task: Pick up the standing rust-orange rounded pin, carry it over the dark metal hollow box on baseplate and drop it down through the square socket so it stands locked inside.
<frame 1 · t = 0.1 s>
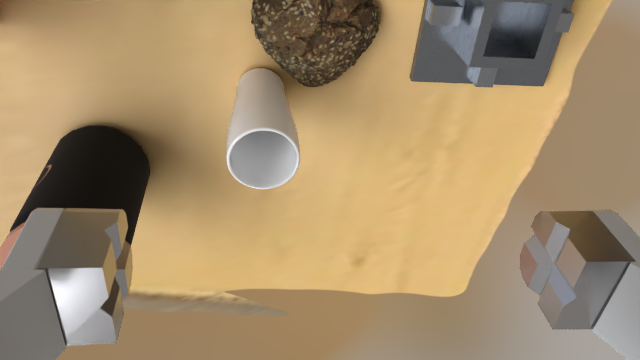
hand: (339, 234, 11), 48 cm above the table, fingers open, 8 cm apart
drinking glass: (260, 87, 61), on the table
coffee jar: (105, 159, 64), on the table
hollow box on baseplate: (494, 11, 58), on the table
bread roll: (318, 18, 57), on the table
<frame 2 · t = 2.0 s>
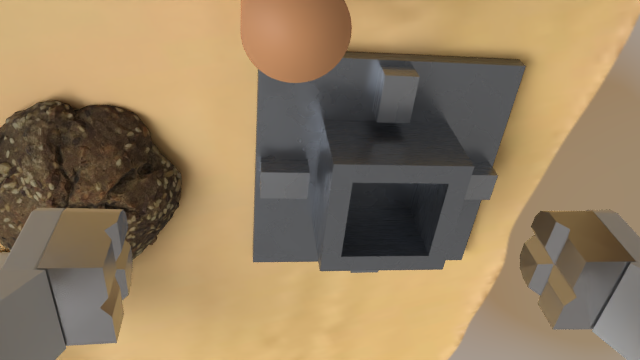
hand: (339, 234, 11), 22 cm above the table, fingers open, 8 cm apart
hollow box on baseplate: (373, 165, 37), on the table
bread roll: (84, 179, 35), on the table
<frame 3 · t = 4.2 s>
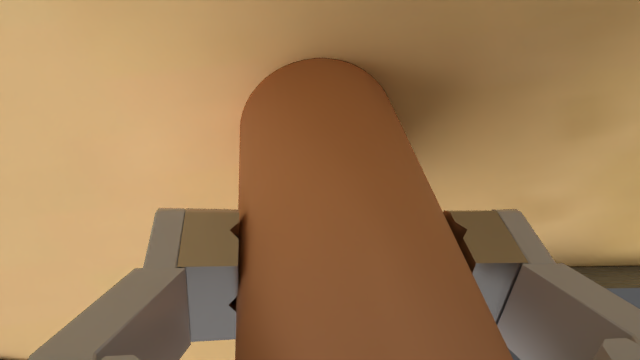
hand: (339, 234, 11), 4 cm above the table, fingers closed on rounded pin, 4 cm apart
rounded pin: (317, 131, 14), on the table, touching gripper
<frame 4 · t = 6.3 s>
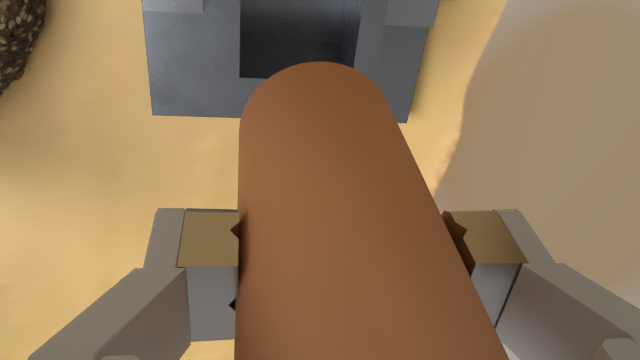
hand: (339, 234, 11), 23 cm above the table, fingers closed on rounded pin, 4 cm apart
rounded pin: (316, 133, 14), point 18 cm above the table, touching gripper
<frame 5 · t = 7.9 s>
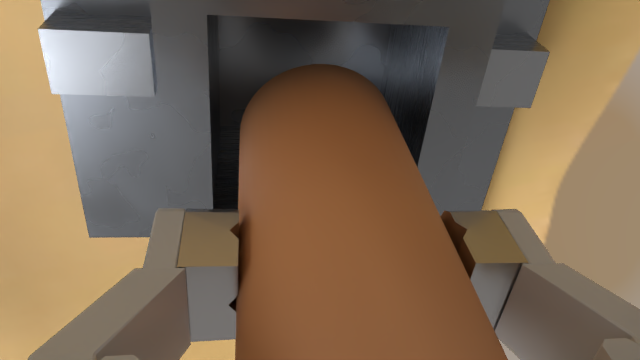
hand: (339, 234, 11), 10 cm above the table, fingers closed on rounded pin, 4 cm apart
rounded pin: (316, 135, 14), point 6 cm above the table, touching gripper
hollow box on baseplate: (301, 42, 19), on the table
when the fingers open (7 cm above the table, at t = 8.8 s): rounded pin drops 2 cm, resting on hollow box on baseplate.
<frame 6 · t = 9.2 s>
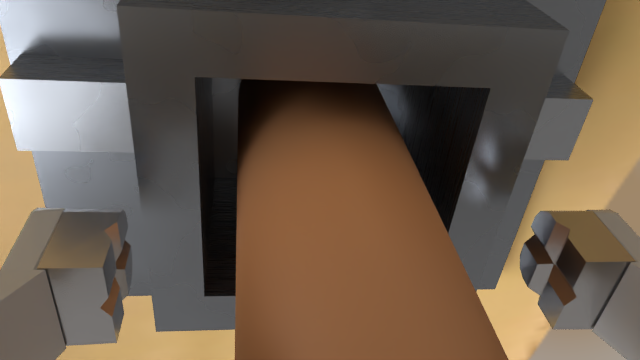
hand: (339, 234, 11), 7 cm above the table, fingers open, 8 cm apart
rounded pin: (307, 101, 16), point 1 cm above the table, touching hollow box on baseplate
hollow box on baseplate: (307, 84, 16), on the table
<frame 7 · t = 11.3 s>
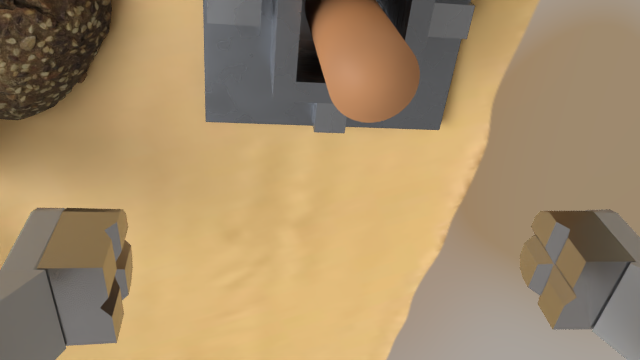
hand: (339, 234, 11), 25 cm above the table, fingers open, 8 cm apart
rounded pin: (338, 7, 32), point 1 cm above the table, touching hollow box on baseplate
hollow box on baseplate: (337, 2, 33), on the table
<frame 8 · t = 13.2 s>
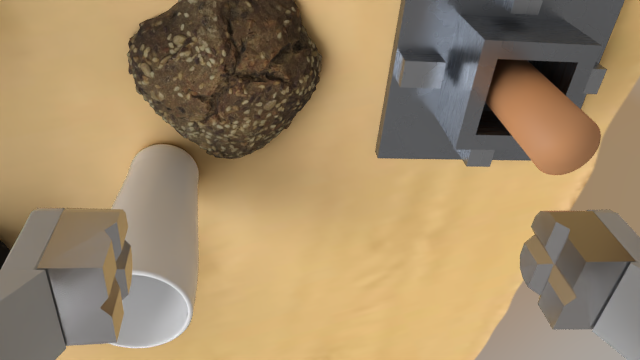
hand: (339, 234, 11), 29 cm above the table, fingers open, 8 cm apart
drinking glass: (166, 167, 44), on the table
rounded pin: (495, 70, 40), point 1 cm above the table, touching hollow box on baseplate
hollow box on baseplate: (492, 64, 41), on the table
bread roll: (233, 63, 40), on the table
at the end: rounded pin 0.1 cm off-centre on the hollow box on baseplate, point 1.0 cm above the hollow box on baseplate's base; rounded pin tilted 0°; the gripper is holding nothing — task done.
